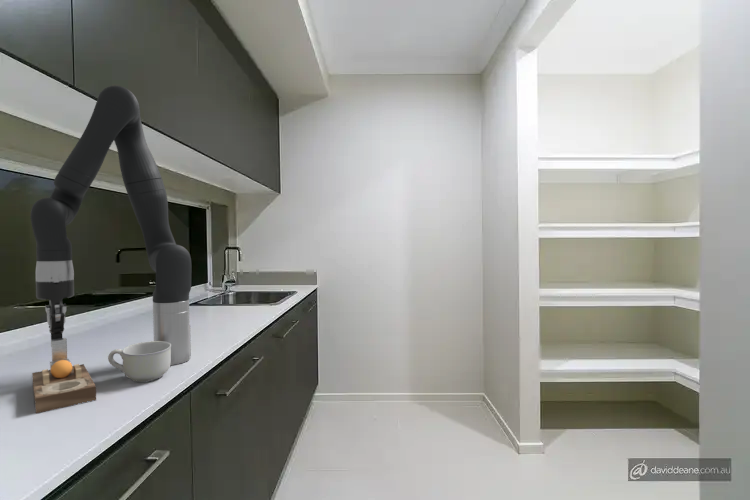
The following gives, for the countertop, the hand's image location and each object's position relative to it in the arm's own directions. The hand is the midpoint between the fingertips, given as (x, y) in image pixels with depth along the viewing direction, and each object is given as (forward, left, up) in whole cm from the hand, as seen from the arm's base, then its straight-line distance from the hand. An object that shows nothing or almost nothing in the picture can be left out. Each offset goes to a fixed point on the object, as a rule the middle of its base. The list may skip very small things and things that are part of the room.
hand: (56, 347), depth 103 cm
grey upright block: (+5, +5, -4) cm, 9 cm away
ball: (+8, +9, -3) cm, 12 cm away
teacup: (-1, +21, -8) cm, 23 cm away
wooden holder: (+10, +10, -8) cm, 16 cm away
